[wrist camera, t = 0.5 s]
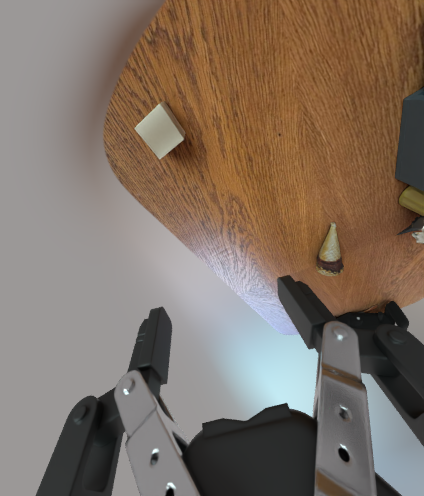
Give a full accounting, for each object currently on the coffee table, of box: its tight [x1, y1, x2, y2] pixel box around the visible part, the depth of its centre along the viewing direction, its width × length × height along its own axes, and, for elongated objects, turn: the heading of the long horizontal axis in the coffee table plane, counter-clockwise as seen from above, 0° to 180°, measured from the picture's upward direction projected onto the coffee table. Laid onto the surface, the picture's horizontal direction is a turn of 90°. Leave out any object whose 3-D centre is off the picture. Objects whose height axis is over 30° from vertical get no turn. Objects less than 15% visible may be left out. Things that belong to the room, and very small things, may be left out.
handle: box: [336, 301, 409, 330], centre depth 69 cm, size 17×27×15 cm, turn 120°
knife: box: [358, 305, 378, 313], centre depth 72 cm, size 13×1×3 cm
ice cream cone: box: [316, 222, 344, 276], centre depth 42 cm, size 6×6×15 cm
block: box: [134, 101, 185, 159], centre depth 23 cm, size 4×4×4 cm
